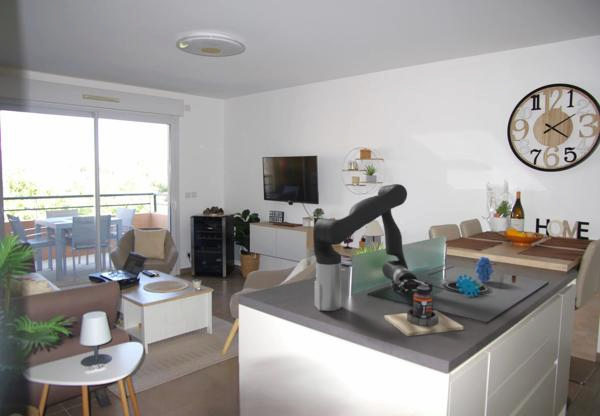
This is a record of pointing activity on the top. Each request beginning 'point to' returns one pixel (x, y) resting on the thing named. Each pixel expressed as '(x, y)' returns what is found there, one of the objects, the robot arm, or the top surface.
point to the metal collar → (422, 319)
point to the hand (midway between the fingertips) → (416, 292)
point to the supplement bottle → (422, 302)
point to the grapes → (484, 269)
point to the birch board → (411, 329)
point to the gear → (468, 285)
